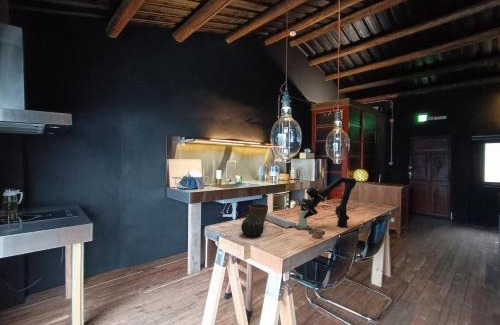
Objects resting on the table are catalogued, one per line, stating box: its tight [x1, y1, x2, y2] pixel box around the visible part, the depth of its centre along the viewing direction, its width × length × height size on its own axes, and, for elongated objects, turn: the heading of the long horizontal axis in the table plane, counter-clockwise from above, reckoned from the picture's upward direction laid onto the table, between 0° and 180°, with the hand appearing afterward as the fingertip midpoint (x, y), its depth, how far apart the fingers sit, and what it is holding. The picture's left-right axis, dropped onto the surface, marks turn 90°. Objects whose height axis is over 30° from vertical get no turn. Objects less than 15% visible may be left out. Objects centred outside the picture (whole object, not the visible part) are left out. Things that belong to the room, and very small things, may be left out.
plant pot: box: [248, 203, 269, 225], centre depth 190 cm, size 15×15×16 cm
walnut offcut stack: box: [311, 229, 324, 240], centre depth 168 cm, size 5×5×4 cm
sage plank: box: [298, 210, 308, 228], centre depth 190 cm, size 5×4×12 cm
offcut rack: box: [308, 228, 326, 236], centre depth 177 cm, size 9×8×2 cm
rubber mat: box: [293, 224, 313, 231], centre depth 190 cm, size 11×10×1 cm
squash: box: [240, 213, 264, 238], centre depth 169 cm, size 14×15×15 cm
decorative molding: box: [265, 213, 297, 229], centre depth 204 cm, size 34×5×10 cm
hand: (301, 216), depth 190 cm, fingers open, 9 cm apart
